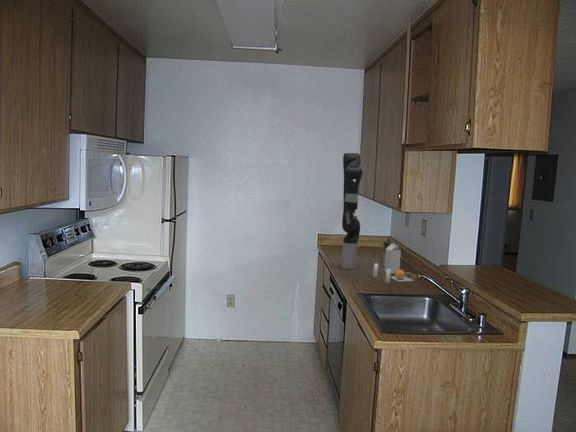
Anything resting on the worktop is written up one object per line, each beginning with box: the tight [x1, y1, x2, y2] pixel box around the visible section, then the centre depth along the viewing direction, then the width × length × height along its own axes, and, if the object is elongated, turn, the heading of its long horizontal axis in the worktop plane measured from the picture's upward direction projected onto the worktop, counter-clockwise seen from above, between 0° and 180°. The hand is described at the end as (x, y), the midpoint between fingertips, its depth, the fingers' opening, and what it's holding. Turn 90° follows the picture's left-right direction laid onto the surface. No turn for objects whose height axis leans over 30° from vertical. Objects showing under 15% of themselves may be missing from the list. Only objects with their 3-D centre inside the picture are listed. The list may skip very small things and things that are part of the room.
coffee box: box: [380, 241, 398, 267], centre depth 333 cm, size 9×6×16 cm
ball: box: [394, 269, 406, 279], centre depth 293 cm, size 6×6×6 cm
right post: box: [385, 269, 392, 284], centre depth 283 cm, size 3×3×8 cm
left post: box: [372, 262, 379, 278], centre depth 297 cm, size 3×3×8 cm
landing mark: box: [390, 276, 415, 282], centre depth 295 cm, size 11×11×1 cm
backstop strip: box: [404, 271, 418, 282], centre depth 297 cm, size 10×2×3 cm, turn 18°
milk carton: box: [383, 242, 402, 275], centre depth 311 cm, size 7×7×19 cm
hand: (349, 230), depth 285 cm, fingers closed
